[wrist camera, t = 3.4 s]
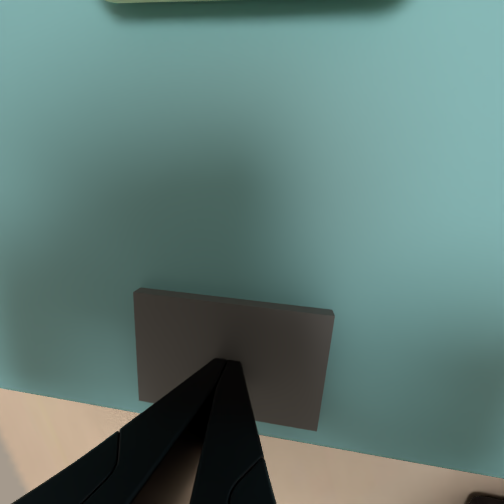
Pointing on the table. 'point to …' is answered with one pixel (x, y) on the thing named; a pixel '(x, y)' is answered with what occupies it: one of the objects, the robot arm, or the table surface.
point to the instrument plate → (261, 213)
